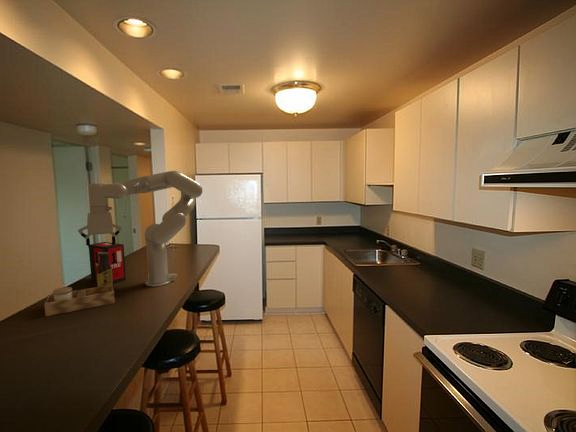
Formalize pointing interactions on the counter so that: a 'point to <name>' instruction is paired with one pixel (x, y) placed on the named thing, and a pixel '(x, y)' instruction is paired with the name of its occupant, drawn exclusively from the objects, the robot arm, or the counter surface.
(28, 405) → the counter surface
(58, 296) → the jar
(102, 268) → the sauce bottle
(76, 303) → the caddy
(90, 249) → the cleaning product box
